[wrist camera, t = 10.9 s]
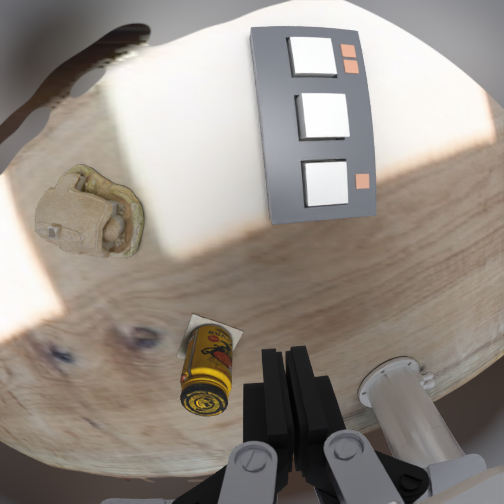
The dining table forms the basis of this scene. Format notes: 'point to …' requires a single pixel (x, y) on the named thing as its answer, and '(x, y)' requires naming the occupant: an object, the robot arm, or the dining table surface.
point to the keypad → (286, 131)
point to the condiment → (207, 365)
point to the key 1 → (311, 57)
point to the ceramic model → (90, 215)
